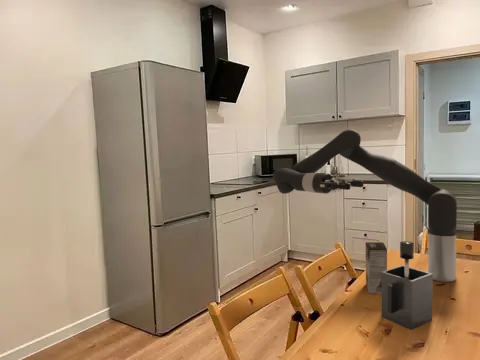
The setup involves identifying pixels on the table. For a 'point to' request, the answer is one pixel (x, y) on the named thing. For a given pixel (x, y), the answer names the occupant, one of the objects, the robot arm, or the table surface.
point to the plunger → (406, 255)
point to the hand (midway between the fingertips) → (356, 185)
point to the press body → (406, 297)
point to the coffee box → (375, 265)
